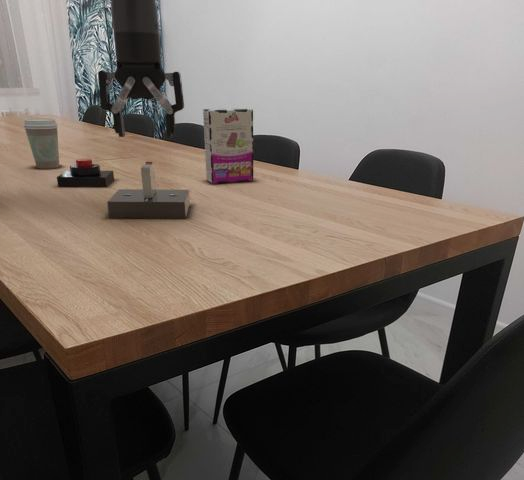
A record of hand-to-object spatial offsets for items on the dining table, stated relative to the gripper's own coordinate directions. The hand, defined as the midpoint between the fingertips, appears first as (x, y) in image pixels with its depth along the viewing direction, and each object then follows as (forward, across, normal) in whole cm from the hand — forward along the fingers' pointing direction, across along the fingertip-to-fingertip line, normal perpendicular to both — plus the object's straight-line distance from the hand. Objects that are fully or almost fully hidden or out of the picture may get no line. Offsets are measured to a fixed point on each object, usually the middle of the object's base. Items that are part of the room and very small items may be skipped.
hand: (145, 136), depth 91 cm
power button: (+10, +19, -27) cm, 35 cm away
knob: (+10, 0, 0) cm, 10 cm away
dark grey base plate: (+13, 0, 0) cm, 13 cm away
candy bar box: (+14, -15, -31) cm, 37 cm away
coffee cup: (+14, +35, -49) cm, 62 cm away
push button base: (+13, +19, -27) cm, 36 cm away
